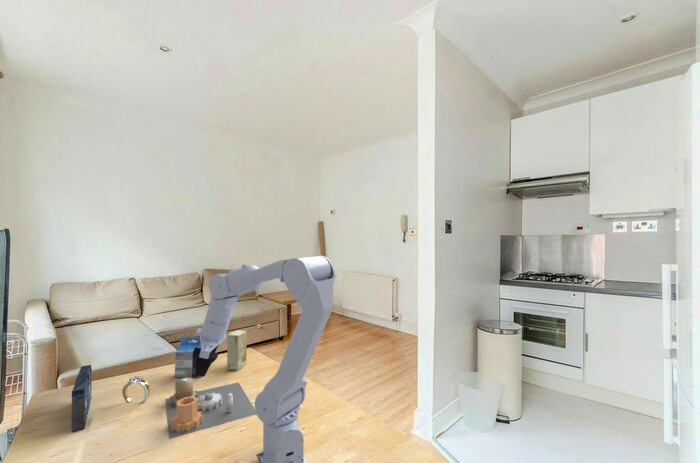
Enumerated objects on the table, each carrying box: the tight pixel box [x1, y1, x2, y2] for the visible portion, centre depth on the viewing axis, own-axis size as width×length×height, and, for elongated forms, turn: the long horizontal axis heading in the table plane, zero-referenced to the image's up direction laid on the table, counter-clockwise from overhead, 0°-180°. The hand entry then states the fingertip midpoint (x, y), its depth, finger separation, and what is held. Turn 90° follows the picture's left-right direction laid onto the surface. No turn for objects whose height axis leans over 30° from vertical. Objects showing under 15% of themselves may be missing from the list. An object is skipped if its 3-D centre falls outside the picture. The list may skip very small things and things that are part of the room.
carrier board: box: [164, 377, 257, 440], centre depth 89 cm, size 21×20×7 cm
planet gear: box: [171, 396, 203, 432], centre depth 80 cm, size 7×7×6 cm
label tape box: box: [174, 336, 202, 379], centre depth 111 cm, size 9×4×12 cm, turn 94°
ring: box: [121, 375, 151, 404], centre depth 91 cm, size 7×3×8 cm, turn 82°
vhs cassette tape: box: [71, 364, 93, 433], centre depth 87 cm, size 18×3×10 cm, turn 33°
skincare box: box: [226, 330, 248, 371], centre depth 118 cm, size 6×4×12 cm
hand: (204, 364), depth 83 cm, fingers open, 7 cm apart
